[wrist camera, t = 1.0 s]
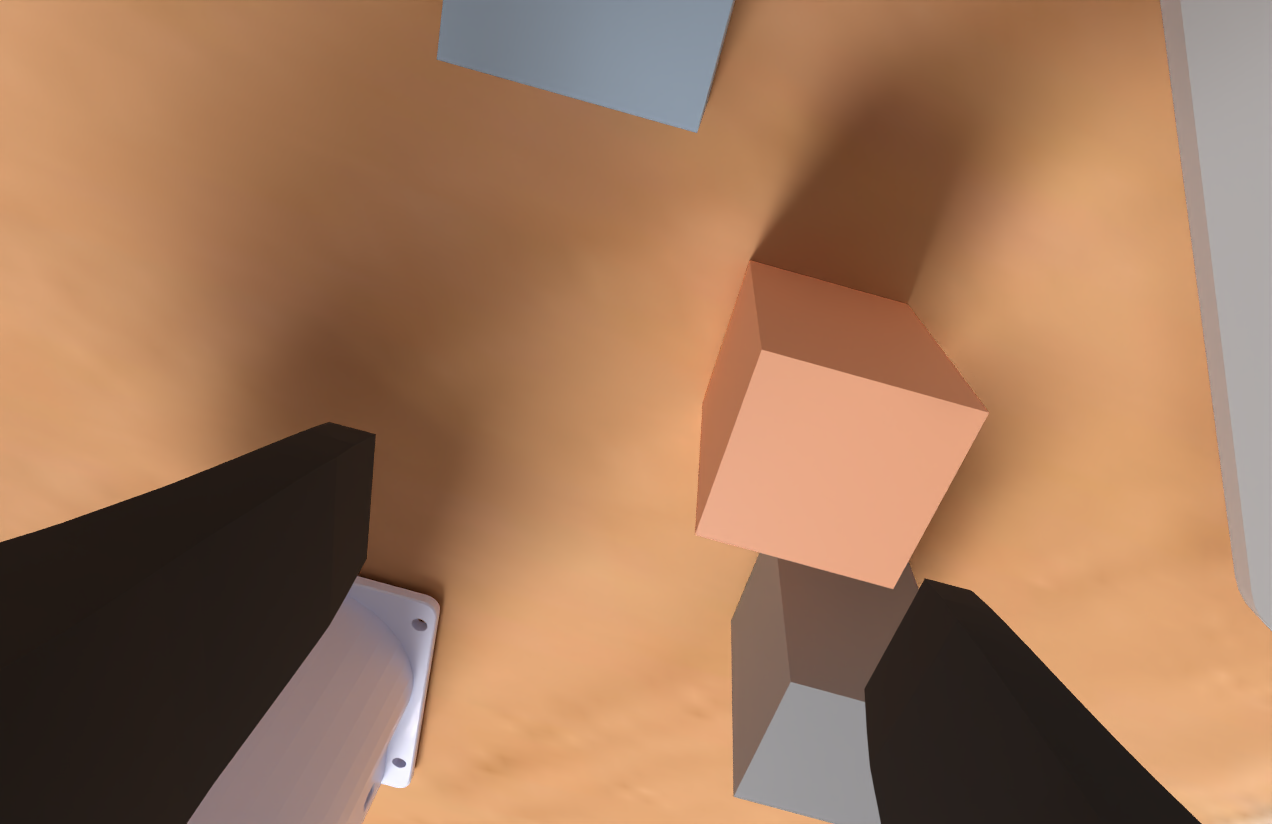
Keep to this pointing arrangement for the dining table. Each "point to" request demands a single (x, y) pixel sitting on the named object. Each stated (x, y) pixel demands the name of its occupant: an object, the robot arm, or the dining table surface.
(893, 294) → the dining table surface
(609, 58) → the slate-blue block
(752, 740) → the gray block
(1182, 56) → the tablet
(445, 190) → the dining table surface
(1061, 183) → the dining table surface
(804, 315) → the terracotta block
